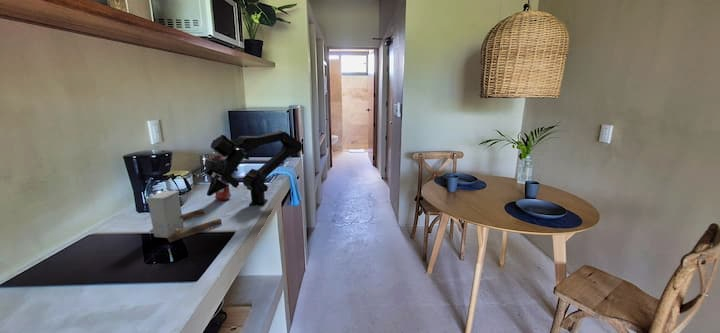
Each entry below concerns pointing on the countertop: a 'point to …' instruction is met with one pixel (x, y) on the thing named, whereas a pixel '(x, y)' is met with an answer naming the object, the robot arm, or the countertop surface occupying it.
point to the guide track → (193, 230)
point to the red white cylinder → (225, 192)
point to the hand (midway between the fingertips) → (208, 195)
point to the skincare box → (165, 213)
